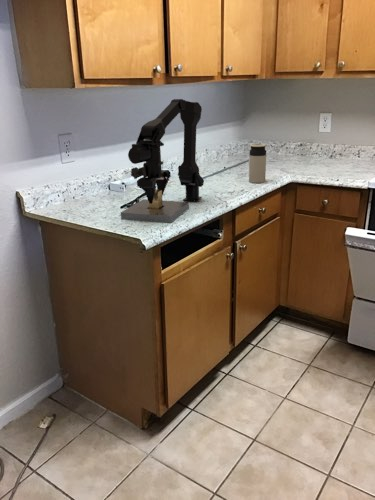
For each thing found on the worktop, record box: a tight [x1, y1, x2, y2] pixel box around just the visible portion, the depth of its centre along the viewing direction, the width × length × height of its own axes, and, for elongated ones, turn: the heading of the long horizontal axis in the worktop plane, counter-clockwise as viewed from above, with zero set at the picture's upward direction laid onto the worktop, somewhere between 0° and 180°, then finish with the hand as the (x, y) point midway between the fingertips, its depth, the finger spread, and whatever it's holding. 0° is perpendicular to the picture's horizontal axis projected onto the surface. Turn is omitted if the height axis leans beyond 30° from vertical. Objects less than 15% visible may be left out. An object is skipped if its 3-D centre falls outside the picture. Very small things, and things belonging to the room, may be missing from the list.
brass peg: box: [149, 189, 163, 210], centre depth 170 cm, size 4×4×9 cm
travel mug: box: [248, 143, 267, 184], centre depth 214 cm, size 8×8×18 cm
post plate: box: [120, 198, 190, 224], centre depth 171 cm, size 20×20×2 cm
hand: (155, 200), depth 169 cm, fingers open, 9 cm apart
